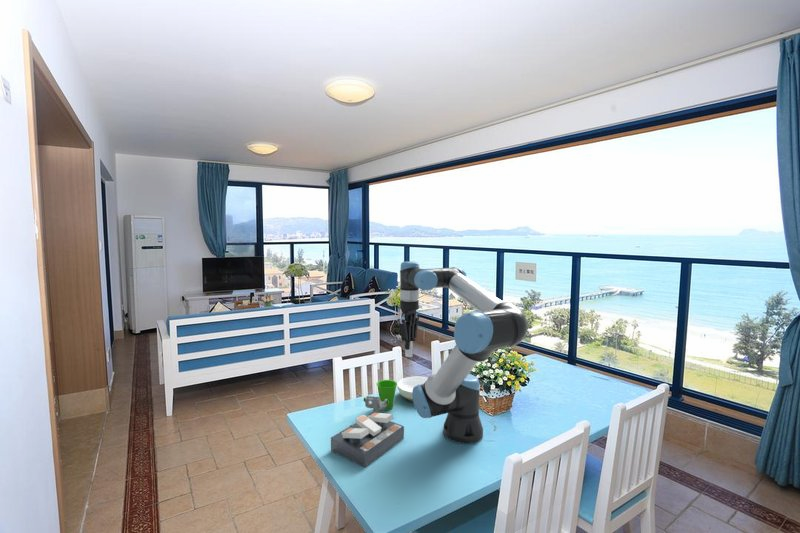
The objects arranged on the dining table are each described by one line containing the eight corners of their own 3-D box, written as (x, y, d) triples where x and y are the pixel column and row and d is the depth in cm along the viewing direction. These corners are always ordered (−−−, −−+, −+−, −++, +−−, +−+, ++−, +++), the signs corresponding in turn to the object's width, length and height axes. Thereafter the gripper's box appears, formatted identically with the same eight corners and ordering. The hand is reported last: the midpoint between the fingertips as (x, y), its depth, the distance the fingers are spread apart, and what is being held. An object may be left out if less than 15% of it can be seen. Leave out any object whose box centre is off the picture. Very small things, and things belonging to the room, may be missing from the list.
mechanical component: (387, 425, 156) (387, 401, 155) (363, 422, 158) (362, 398, 158) (389, 421, 159) (389, 397, 158) (365, 418, 161) (365, 395, 160)
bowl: (393, 404, 175) (393, 391, 174) (400, 386, 194) (401, 375, 194) (437, 407, 172) (437, 394, 171) (440, 389, 191) (440, 377, 190)
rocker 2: (380, 431, 141) (381, 427, 140) (373, 436, 138) (374, 431, 137) (362, 418, 146) (363, 414, 145) (355, 422, 142) (356, 418, 142)
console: (403, 438, 146) (403, 423, 146) (365, 467, 129) (365, 449, 128) (371, 425, 156) (371, 411, 155) (330, 451, 138) (330, 434, 137)
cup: (373, 410, 169) (373, 385, 168) (381, 401, 177) (381, 378, 176) (392, 414, 166) (392, 389, 165) (400, 405, 174) (400, 381, 173)
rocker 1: (368, 433, 135) (367, 427, 135) (361, 438, 131) (359, 432, 132) (350, 433, 140) (349, 427, 140) (342, 438, 137) (341, 432, 137)
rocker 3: (393, 418, 146) (392, 413, 146) (386, 423, 143) (385, 417, 143) (375, 417, 151) (374, 412, 151) (368, 421, 148) (367, 416, 148)
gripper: (410, 296, 165) (409, 350, 167) (392, 301, 154) (392, 359, 157) (425, 298, 161) (424, 354, 163) (408, 303, 150) (407, 362, 152)
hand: (408, 356), depth 160 cm, fingers closed
